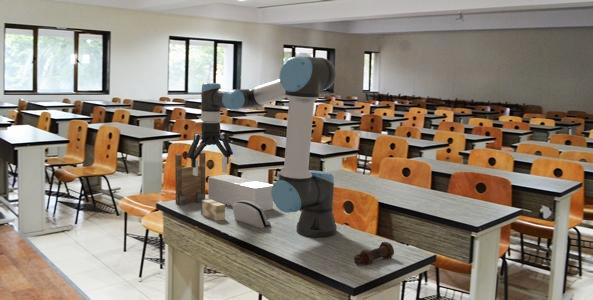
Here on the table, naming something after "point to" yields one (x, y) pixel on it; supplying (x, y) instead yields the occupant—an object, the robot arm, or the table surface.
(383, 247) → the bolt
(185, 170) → the wooden cleated plank
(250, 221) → the white rounded block
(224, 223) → the table surface
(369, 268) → the table surface
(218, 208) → the tan wooden block
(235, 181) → the white ribbed block
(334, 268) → the table surface
